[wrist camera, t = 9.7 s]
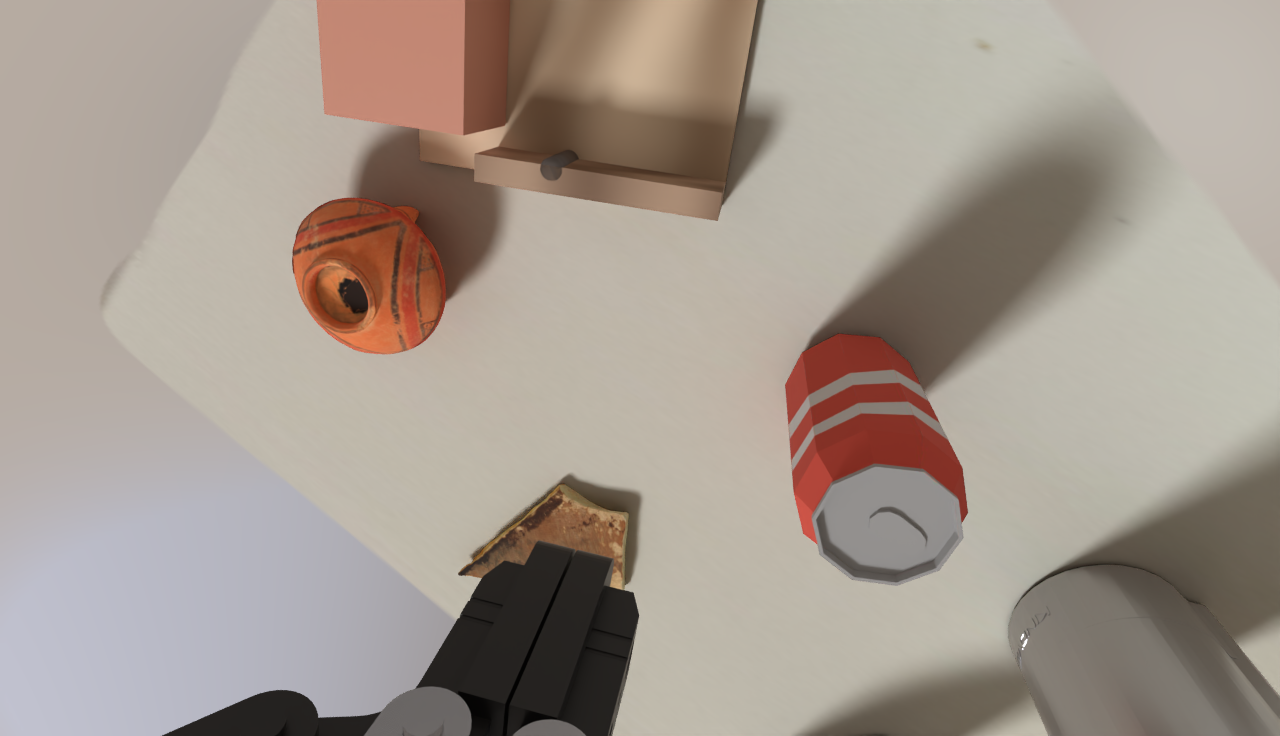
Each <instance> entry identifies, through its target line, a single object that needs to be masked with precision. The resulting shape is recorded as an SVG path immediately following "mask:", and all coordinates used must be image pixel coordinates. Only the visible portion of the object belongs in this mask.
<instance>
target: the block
mask: <svg viewBox="0 0 1280 736" xmlns="http://www.w3.org/2000/svg"><path fill="white" fill-rule="evenodd" d="M317 12H318V26H319V41H320V55H321V69H322V84H323V98H324V112H325V114H327V115H333V116H340V117H346V118H353V119H359V120H366V121H372V122H379V123H385V124H391V125H398V126H404V127H411V128H417V129H424V130H430V131H437V132H443V133H450V134H456V135H462V136H464V135H468V134H472V133H477V132H481V131H485V130H490V129H494V128H498V127H502V126H505V124H506V98H507V71H508V45H509V19H510V0H317Z"/></svg>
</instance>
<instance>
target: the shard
mask: <svg viewBox="0 0 1280 736" xmlns="http://www.w3.org/2000/svg"><path fill="white" fill-rule="evenodd" d="M628 520H629V514H628V513H627V512H617V511H610V510H607V509H604V508H602V507H600V506H598V505H596V504H594V503H592V502H590V501H588V500H587V499H586V498H584V497H583V496H581V495H580V494H578V493H577V492H576V491H574V490H572V489H571V488H570V487H568V486H567V485H565V484H561V485H558V487H557V488H556V489H555V490H554V491H553V492H552V493H550V494H549V495H548V497H547V498H546V499H545V500H544V501H543V502H541V503H540V504H539V505H537V506H535V507H534V508H533V509H532V510H531V511H530V512H529V513H528V514H527V515H526V516H525V517H524V518H523V519H522V520H520V521H518V522H517V523H516V524H514V525H513V526H511V527H509V528H508V529H507V530H506V531H505V532H504V533H502V534H501V535H499V536H498V537H497V538H496V539H494V540H493V541H492V542H490V543H488V545H487V546H485V548H483V549H482V551H481V553H480V554H478V555H477V556H476V557H475V558H474V560H473V562H472V563H470V564H467V565H466V566H465V567H464V568H463V569H461V571H460V572H459V573H458V575H460V576H462V575H464V576H473V577H479V578H482V577H483V576H484V575H485V574H487V573H488V572H489V571H491V570H492V569H493V568H495V567H496V566H498V565H499V564H500V563H502V562H503V561H504V560H505V561H509V562H513V563H517V564H521V565H525V563H526V561H527V559H528V557H529V555H530V553H531V551H532V550H533V548H534V546H535V544H536V543H537V541H539V540H540V541H544V542H548V543H552V544H556V545H560V546H564V547H569V548H573V549H575V551H577V550H581V551H585V552H589V553H593V554H598V555H602V556H606V557H610V558H614V566H613V572H612V578H611V584H610V587H613V588H617V589H621V590H624V588H625V548H626V539H627V532H628V531H627V529H628Z"/></svg>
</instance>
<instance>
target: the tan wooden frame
mask: <svg viewBox="0 0 1280 736" xmlns="http://www.w3.org/2000/svg"><path fill="white" fill-rule="evenodd" d="M757 3H758V0H510V19H509V45H508V71H507V98H506V124H505V126H502V127H498V128H494V129H490V130H485V131H481V132H477V133H472V134H468V135H464V136H462V135H456V134H450V133H443V132H437V131H430V130H424V129H419V148H420V161H425V162H431V163H438V164H444V165H450V166H456V167H463V168H469V169H474V182H480V183H486V184H493V185H499V186H505V187H511V188H517V189H524V190H530V191H536V192H542V193H548V194H555V195H561V196H567V197H573V198H579V199H585V200H592V201H598V202H604V203H610V204H616V205H623V206H629V207H635V208H641V209H647V210H654V211H660V212H666V213H672V214H678V215H685V216H691V217H697V218H703V219H709V220H716V221H718V217H719V214H720V210H721V207H722V202H723V196H724V190H725V184H726V179H727V173H728V167H729V162H730V156H731V150H732V145H733V139H734V133H735V128H736V122H737V116H738V111H739V105H740V99H741V94H742V88H743V82H744V77H745V71H746V65H747V60H748V54H749V48H750V42H751V37H752V31H753V25H754V20H755V14H756V8H757Z"/></svg>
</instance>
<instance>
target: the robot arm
mask: <svg viewBox="0 0 1280 736" xmlns="http://www.w3.org/2000/svg"><path fill="white" fill-rule="evenodd" d="M613 566H614V558H610V557H606V556H602V555H598V554H593V553H589V552H585V551H581V550H577V551H575V549H573V548H569V547H564V546H560V545H556V544H552V543H548V542H544V541H540V540H539V541H537V543H536V544H535V546H534V548H533V550H532V551H531V553H530V555H529V557H528V559H527V561H526V563H525V565H521V564H517V563H513V562H509V561H505V560H504V561H503V562H502V563H500V564H499V565H498V566H496V567H495V568H493V569H492V570H491V571H489V572H488V573H487V574H485V575H484V576H483V577H482V579H481V581H480V582H479V584H478V586H477V587H476V589H475V591H474V592H473V594H472V596H471V599H470V601H468V603H467V604H466V606H465V608H464V609H463V611H462V613H461V615H460V618H458V619H457V621H456V623H455V624H454V626H453V628H452V630H451V631H450V633H449V634H448V636H447V638H446V639H445V641H444V643H443V644H442V646H441V648H440V649H439V651H438V653H437V655H436V656H435V658H434V659H433V661H432V663H431V665H430V666H429V668H428V670H427V671H426V673H425V675H424V676H423V678H422V680H421V681H420V683H419V684H418V686H417V687H416V688H415V689H413V690H410V691H407V692H405V693H403V694H401V695H399V696H398V697H396V698H395V699H393V700H392V701H391V702H390V703H389V704H388V705H387V706H386V707H385V708H384V709H383V710H382V711H381V712H379V713H375V714H370V715H365V716H353V717H326V718H318V713H317V710H316V708H315V706H314V704H313V703H312V701H310V700H309V699H308V698H307V697H305V696H304V695H302V694H300V693H297V692H294V691H288V690H276V691H269V692H264V693H260V694H257V695H255V696H252V697H250V698H247V699H245V700H243V701H240V702H238V703H236V704H233V705H231V706H229V707H227V708H224V709H222V710H220V711H217V712H215V713H213V714H210V715H208V716H206V717H204V718H201V719H199V720H197V721H195V722H192V723H190V724H188V725H185V726H184V727H181V728H178V729H176V730H174V731H172V732H169V733H167V734H165V735H162V736H612V734H613V730H614V726H615V722H616V718H617V714H618V710H619V707H620V703H621V698H622V695H623V691H624V687H625V683H626V679H627V675H628V670H629V665H630V660H631V655H632V650H633V645H634V639H635V634H636V629H637V624H638V619H639V613H638V609H637V605H636V601H635V597H634V593H633V592H629V591H625V590H621V589H617V588H613V587H610V584H611V578H612V572H613ZM1008 639H1009V642H1010V646H1011V649H1012V652H1013V654H1014V656H1015V659H1016V661H1017V663H1018V666H1019V668H1020V670H1021V673H1022V675H1023V677H1024V680H1025V682H1026V684H1027V687H1028V689H1029V691H1030V694H1031V696H1032V698H1033V700H1034V703H1035V706H1036V708H1037V710H1038V713H1039V715H1040V717H1041V720H1042V722H1043V724H1044V727H1045V729H1046V731H1047V734H1048V736H1280V696H1279V695H1278V693H1277V692H1276V691H1275V690H1274V689H1273V687H1272V686H1271V685H1270V684H1269V683H1268V681H1267V680H1266V679H1265V678H1264V676H1263V675H1262V674H1261V673H1260V672H1259V670H1258V669H1257V668H1256V667H1255V666H1254V664H1253V663H1252V662H1251V661H1250V659H1249V658H1248V657H1247V656H1246V655H1245V653H1244V652H1243V651H1242V650H1241V649H1240V647H1239V646H1238V645H1237V644H1236V642H1235V641H1234V640H1233V639H1232V638H1231V636H1230V635H1229V634H1228V633H1227V632H1226V630H1225V629H1224V628H1223V627H1222V626H1221V624H1220V623H1219V622H1218V621H1217V619H1216V618H1215V617H1214V616H1213V615H1212V613H1211V612H1210V611H1209V610H1208V609H1207V607H1206V606H1204V605H1201V604H1196V603H1192V602H1190V601H1187V600H1186V599H1185V598H1183V597H1182V596H1181V594H1180V593H1179V592H1178V591H1177V590H1176V589H1175V588H1174V587H1173V586H1172V585H1171V584H1170V583H1168V582H1167V581H1165V580H1164V579H1162V578H1161V577H1159V576H1157V575H1154V574H1152V573H1149V572H1147V571H1145V570H1142V569H1137V568H1133V567H1128V566H1123V565H1094V566H1085V567H1080V568H1076V569H1072V570H1068V571H1064V572H1062V573H1060V574H1057V575H1055V576H1053V577H1050V578H1048V579H1046V580H1045V581H1043V582H1042V583H1040V584H1039V585H1037V586H1035V587H1034V588H1032V589H1031V590H1030V591H1029V592H1028V593H1027V594H1026V595H1025V596H1024V597H1023V598H1022V599H1021V600H1020V602H1019V603H1018V605H1017V606H1016V608H1015V609H1014V611H1013V613H1012V616H1011V619H1010V622H1009V625H1008Z"/></svg>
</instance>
